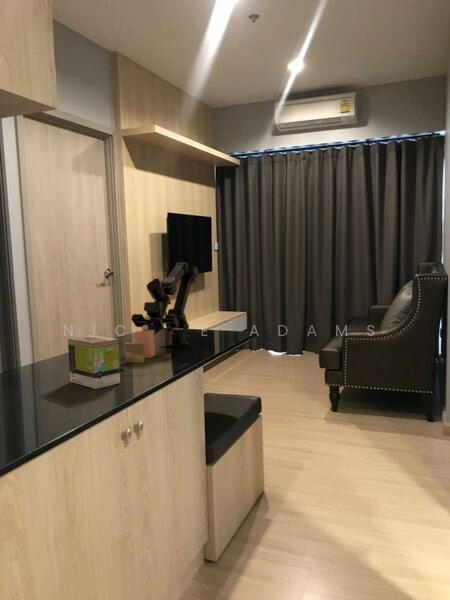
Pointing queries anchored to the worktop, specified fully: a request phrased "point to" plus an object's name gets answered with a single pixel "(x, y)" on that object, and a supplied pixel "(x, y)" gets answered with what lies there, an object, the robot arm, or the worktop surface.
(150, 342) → the slider
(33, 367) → the worktop surface
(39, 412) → the worktop surface
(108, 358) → the tea box
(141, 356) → the track
